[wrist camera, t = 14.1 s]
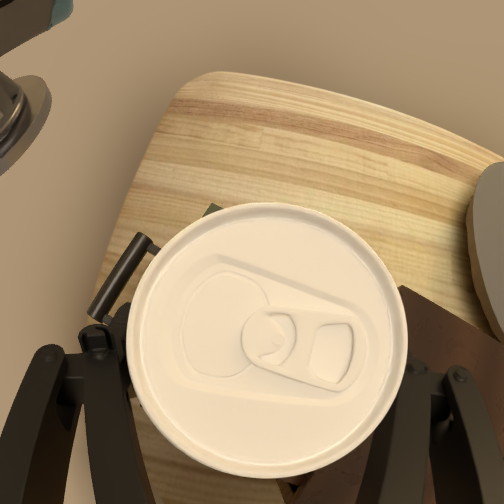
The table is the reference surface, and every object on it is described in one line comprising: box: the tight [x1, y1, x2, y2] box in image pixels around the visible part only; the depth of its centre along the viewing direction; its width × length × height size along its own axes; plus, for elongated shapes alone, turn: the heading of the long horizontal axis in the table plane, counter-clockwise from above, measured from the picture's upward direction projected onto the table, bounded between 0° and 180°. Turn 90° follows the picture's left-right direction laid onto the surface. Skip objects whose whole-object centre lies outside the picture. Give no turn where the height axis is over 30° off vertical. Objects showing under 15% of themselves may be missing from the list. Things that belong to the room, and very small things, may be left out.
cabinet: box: [276, 285, 504, 504], centre depth 19 cm, size 17×15×11 cm
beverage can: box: [126, 202, 408, 478], centre depth 13 cm, size 8×8×12 cm
